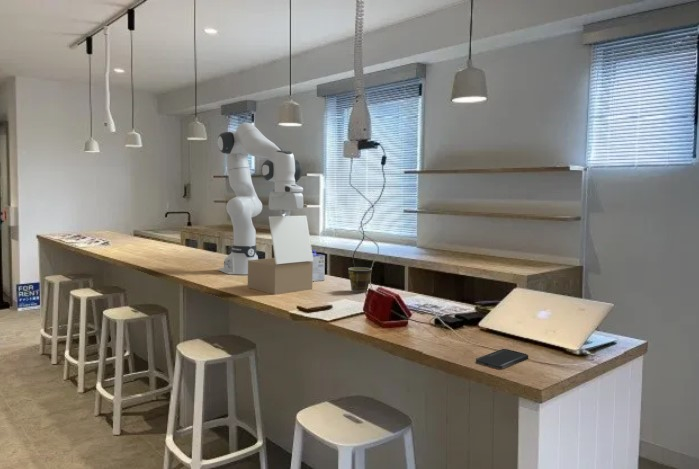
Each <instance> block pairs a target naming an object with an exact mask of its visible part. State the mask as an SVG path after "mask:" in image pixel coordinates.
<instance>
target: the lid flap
mask: <svg viewBox="0 0 699 469" xmlns="http://www.w3.org/2000/svg"><path fill="white" fill-rule="evenodd" d="M268 222H269V228H270V235H271V242H272V243H271V244H272V250H273V255H274V257H273V258H275V264H285V263H295V262H306V261H313V254H312V253H313V251H312V250H313V248H312V242H311V236H310V229H309V223H308V217H307V215H289V216H282V215H276V216H275V215H272V216H271V215H269V216H268Z"/></svg>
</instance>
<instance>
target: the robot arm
mask: <svg viewBox="0 0 699 469" xmlns="http://www.w3.org/2000/svg"><path fill="white" fill-rule="evenodd" d="M217 146H218V150H219V152H221V154H225V155H226V169H227V176H228V181H229V186H230V188H231V189H232V191H233V192H234V195H235V196H234V197H232V198H231V199H229V200H228V201H227V203H226V206H225V207H226V212H227V214H228V215H229V217H230V220H231V224H232V229H233V230H232V231H233V245H231V246H230V248H231V253H230V254H229V255H227V257H225V259H224V260H223V267H221V268H220V267H219V269H218V271H220V272H222V273H225V274H227V275H248V260H257V259H259V257H258V254H257V249H258V248H257V245H256V244H257V243H256V242H257V241H256V240H257V239H256V238H257V231H256V227H254V223H253V221H252V220H253V219H252V218H254V217H257V216H258V215H260V214H261V213H262V211H263V203H262V201H261V199H259V197H258V195H257V192H256V190H255V186H254V184H253V180H252V174H251V169H250V164H249V159H248V155H250V156H252V157H255V158H256V157H257V158H263V159H266V160H265V161H263V163H262V165H261V175H262V177H263V179H264V180H266V181H267V182H274V188H272V189H271V191H270V192H269V196H268V209H269V210H270V211H280V216H291V211H302V210H303V209H304V195H303V194H304V193H303V192H304V188H303V187H302V186H300V185H298V184H296V183H297V182H298V181H299V180H300V179H301V177H302V176H303V167H302V164H301V163H300V162H299V161H298V160H297V159H295V156H294V153H293V152H292V151H290V150H283V149H282V148H281V147H280V146H279V145H277V144H276V143H275V142H273V141H271V140H269V139H268V137H266V136H265V135H264V134H263V133H262V132H261V131H260V130H259V129H258V128H257V126H255V125H254V124H252V123H251V122H243V123H240V124H239V125H238V126H237V128H236V130H234V131H233V130H232V131H224V132H221V133H220V134H219V135H218V137H217Z"/></svg>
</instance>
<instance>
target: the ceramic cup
mask: <svg viewBox="0 0 699 469" xmlns="http://www.w3.org/2000/svg"><path fill="white" fill-rule="evenodd" d="M347 270H348V278H349V282H350V289H351V292H352V293H353V294H354V293H355V294H366V293H368V290H367V289H369V284H370V280H371V275H372V268H370V267H361V266H355V267H348V269H347Z"/></svg>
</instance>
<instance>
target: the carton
mask: <svg viewBox="0 0 699 469" xmlns="http://www.w3.org/2000/svg"><path fill="white" fill-rule="evenodd" d="M312 272H313V262H310V261H306V262H295V263H285V264H275V257H270V258H269V257H268V258H258V259H257V260H248V274H247V288H248V287H249V288H248V289H252V290H256V291H259V292H263V293H268V294H272V295H280V294H288V293H296V292H302V291H308V290H309V291H310V290H313V281H312Z"/></svg>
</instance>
